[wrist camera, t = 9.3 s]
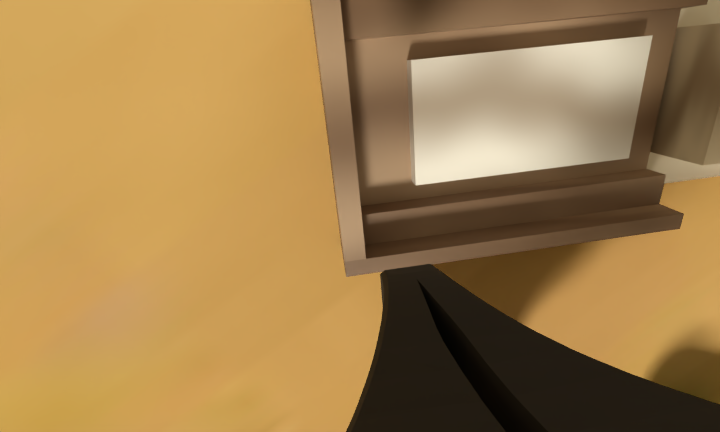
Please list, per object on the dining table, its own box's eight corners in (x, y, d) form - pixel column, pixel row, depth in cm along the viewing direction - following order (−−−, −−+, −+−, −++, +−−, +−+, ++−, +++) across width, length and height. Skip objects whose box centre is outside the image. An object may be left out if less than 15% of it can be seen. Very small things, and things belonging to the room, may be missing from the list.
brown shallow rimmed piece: (629, 206, 21) (679, 228, 18) (341, 245, 20) (346, 276, 17) (681, -51, 16) (762, -76, 13) (307, -19, 15) (306, -39, 12)
